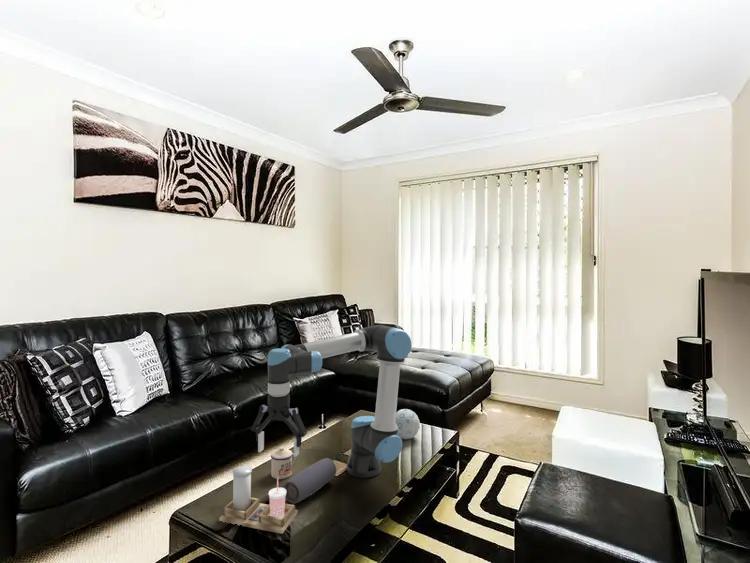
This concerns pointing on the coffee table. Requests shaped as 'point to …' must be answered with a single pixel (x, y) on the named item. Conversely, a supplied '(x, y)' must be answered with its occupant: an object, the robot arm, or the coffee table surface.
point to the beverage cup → (277, 501)
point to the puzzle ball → (407, 423)
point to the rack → (259, 516)
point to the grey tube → (242, 488)
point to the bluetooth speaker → (309, 480)
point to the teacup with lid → (281, 463)
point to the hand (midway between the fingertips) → (278, 453)
